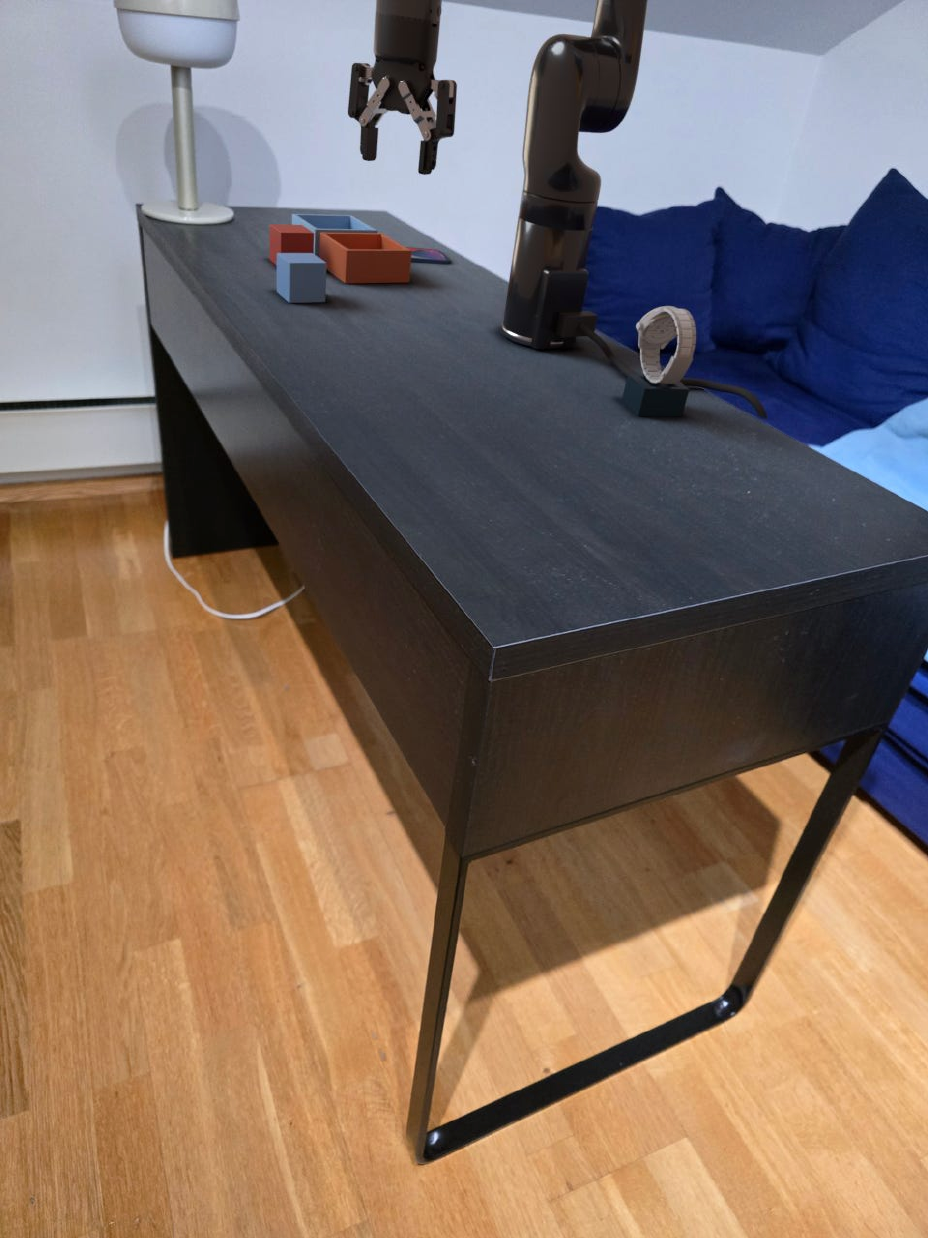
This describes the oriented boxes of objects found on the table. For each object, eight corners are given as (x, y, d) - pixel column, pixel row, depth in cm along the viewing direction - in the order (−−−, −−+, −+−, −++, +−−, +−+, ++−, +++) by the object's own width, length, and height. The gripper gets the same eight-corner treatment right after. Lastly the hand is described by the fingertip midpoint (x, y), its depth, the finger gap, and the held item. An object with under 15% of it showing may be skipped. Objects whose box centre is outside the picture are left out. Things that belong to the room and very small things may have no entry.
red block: (313, 268, 130) (314, 232, 127) (280, 269, 128) (281, 232, 125) (301, 259, 134) (301, 224, 131) (269, 259, 131) (269, 224, 128)
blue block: (325, 302, 117) (326, 262, 114) (289, 302, 115) (289, 262, 112) (311, 291, 121) (312, 252, 118) (276, 291, 118) (276, 252, 115)
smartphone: (449, 267, 143) (450, 260, 143) (359, 260, 139) (359, 253, 138) (437, 255, 149) (438, 249, 149) (350, 248, 144) (350, 241, 144)
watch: (656, 394, 103) (681, 298, 97) (689, 422, 97) (718, 321, 91) (613, 394, 101) (636, 296, 95) (644, 422, 95) (670, 319, 89)
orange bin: (409, 282, 131) (411, 250, 128) (345, 283, 126) (346, 250, 123) (380, 263, 138) (382, 233, 135) (319, 263, 133) (319, 232, 130)
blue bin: (375, 260, 139) (377, 230, 136) (314, 260, 134) (315, 229, 132) (350, 244, 146) (351, 214, 143) (291, 243, 141) (291, 213, 138)
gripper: (339, 2, 102) (333, 157, 111) (443, 19, 97) (428, 180, 106) (376, 6, 107) (368, 154, 117) (476, 23, 102) (459, 176, 112)
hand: (396, 166), depth 111 cm, fingers open, 8 cm apart
